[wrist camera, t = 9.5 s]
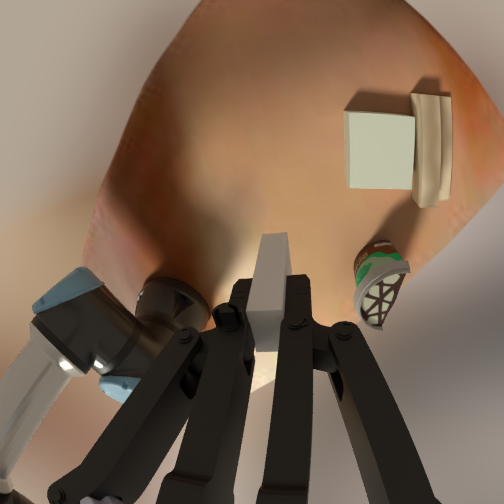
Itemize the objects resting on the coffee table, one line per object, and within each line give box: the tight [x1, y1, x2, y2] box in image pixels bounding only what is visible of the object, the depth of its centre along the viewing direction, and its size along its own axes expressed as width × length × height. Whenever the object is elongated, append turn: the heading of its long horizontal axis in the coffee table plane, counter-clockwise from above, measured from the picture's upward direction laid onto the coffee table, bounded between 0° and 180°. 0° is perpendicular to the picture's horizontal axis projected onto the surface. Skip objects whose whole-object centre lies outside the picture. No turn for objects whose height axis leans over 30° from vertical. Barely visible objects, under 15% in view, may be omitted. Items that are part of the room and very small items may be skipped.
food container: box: [354, 240, 411, 331], centre depth 40 cm, size 12×6×10 cm, turn 176°
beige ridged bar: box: [410, 93, 452, 208], centre depth 31 cm, size 6×16×4 cm, turn 10°
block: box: [343, 111, 415, 190], centre depth 33 cm, size 9×10×4 cm
